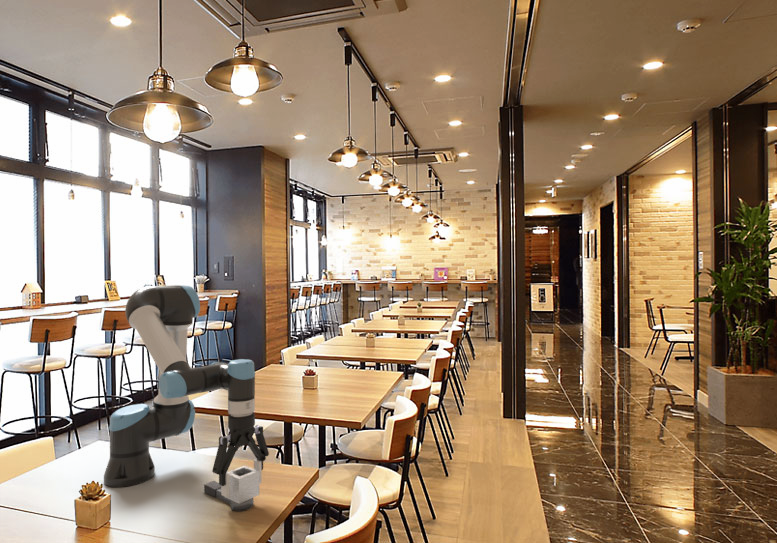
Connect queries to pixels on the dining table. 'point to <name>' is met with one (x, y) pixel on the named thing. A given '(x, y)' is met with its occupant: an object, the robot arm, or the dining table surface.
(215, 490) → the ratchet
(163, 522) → the dining table surface
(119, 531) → the dining table surface
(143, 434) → the robot arm
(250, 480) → the socket
